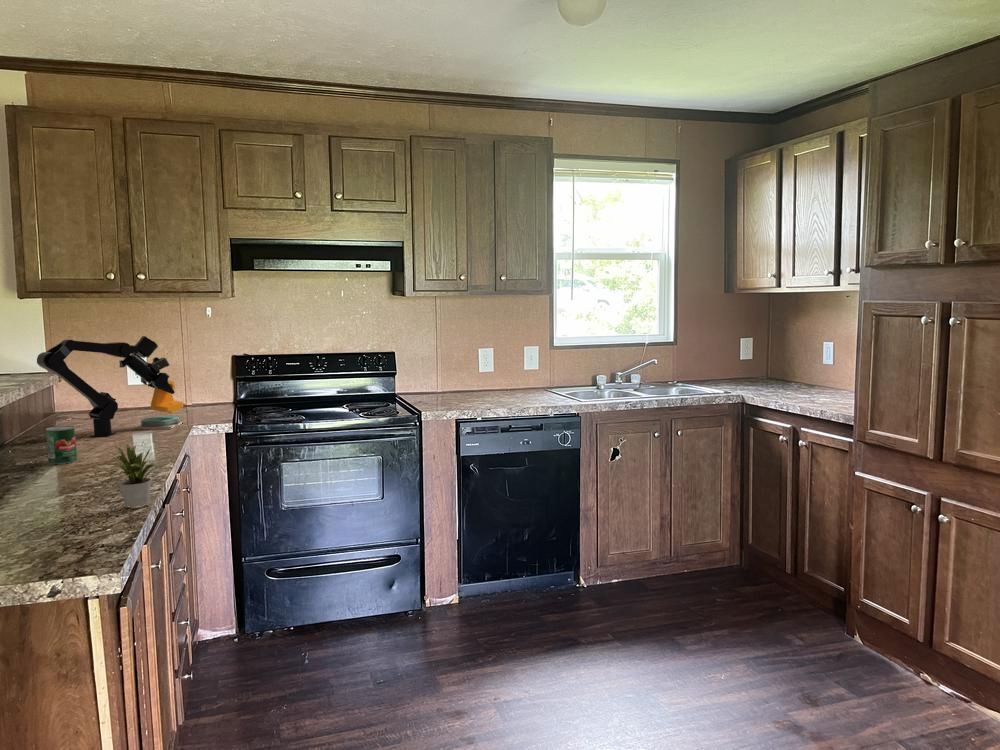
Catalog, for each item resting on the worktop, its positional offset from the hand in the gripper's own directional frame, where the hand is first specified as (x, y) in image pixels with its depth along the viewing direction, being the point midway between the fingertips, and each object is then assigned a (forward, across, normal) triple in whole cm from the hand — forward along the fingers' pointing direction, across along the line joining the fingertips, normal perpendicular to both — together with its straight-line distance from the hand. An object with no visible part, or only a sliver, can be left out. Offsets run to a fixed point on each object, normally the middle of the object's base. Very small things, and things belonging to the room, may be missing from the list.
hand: (171, 392), depth 298 cm
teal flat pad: (+6, +1, +12) cm, 14 cm away
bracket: (+4, 0, +6) cm, 7 cm away
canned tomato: (-23, -44, +43) cm, 66 cm away
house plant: (-22, -113, +42) cm, 123 cm away
